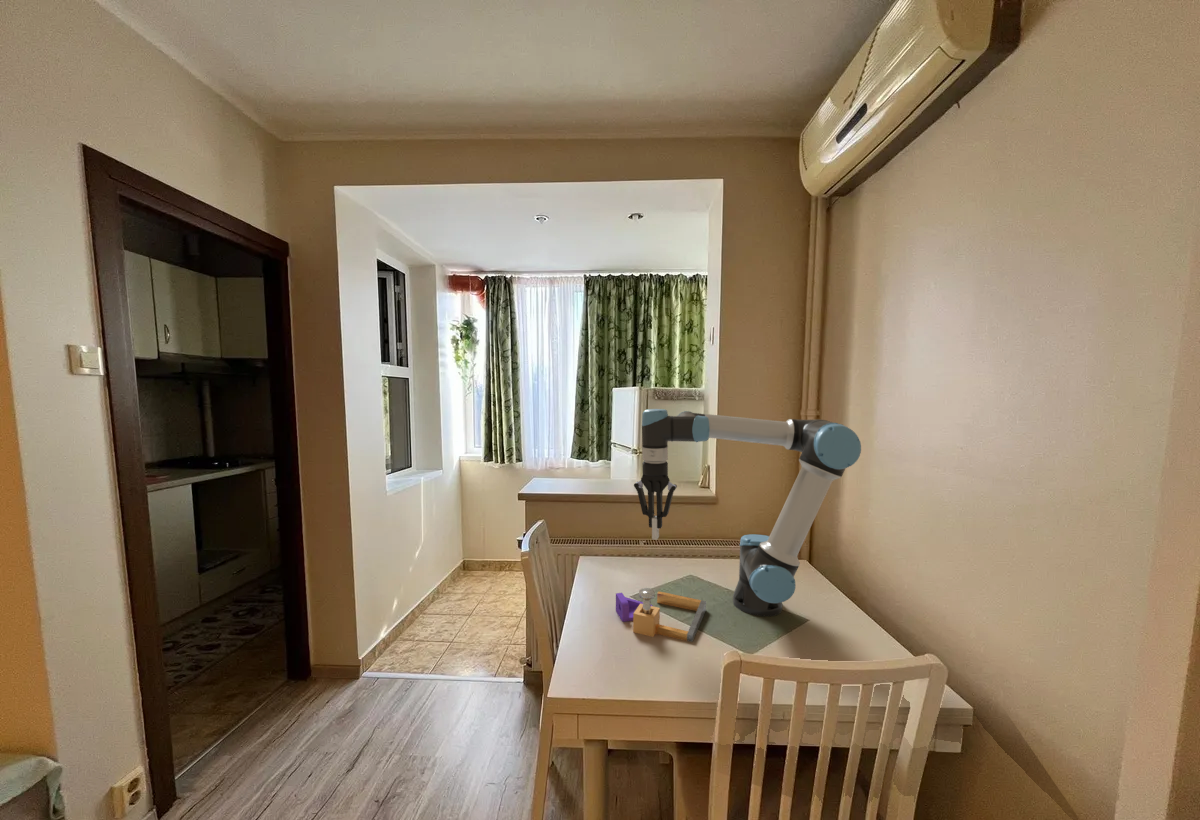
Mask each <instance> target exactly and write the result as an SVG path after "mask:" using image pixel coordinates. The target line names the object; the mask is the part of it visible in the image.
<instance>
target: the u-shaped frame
mask: <svg viewBox="0 0 1200 820" xmlns="http://www.w3.org/2000/svg"><path fill="white" fill-rule="evenodd" d="M656 596H657V597H656V604H662V605H665V606H671V607H676V608H680V609H686V610H691V611H695V614H694V617H693V619H692V622H691V623H690V626H689V629H688V630H683V629H679V628H676V627H672V626H667V625H664V624H660V623H659V624H657V625H656V630H655V635H661V636H664V637H669V638H673V639H677V640H682V641H687V642H691V643H693V642H694V639H695V636H696V635H697V632H698V630H699V627H700V625H701V623H702V621H703V618H704V616H705V613H706V611H707V600H701V599H698V598H694V597H693V598H691V597H687V596H682V595H678V594H673V593H669V592H664V591H657V594H656Z"/></svg>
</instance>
